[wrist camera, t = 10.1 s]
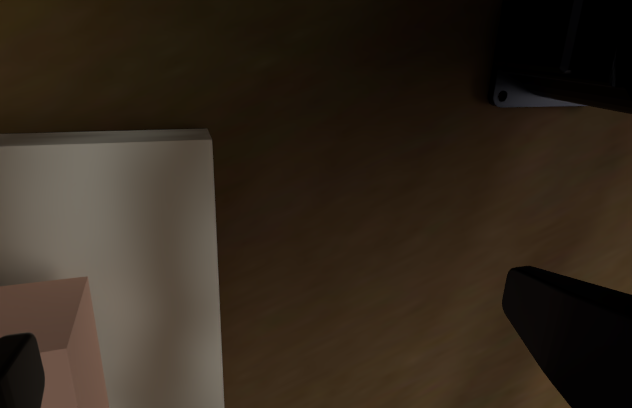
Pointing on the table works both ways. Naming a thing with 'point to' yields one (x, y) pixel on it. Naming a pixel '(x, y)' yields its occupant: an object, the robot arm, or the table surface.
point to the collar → (59, 338)
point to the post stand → (124, 251)
